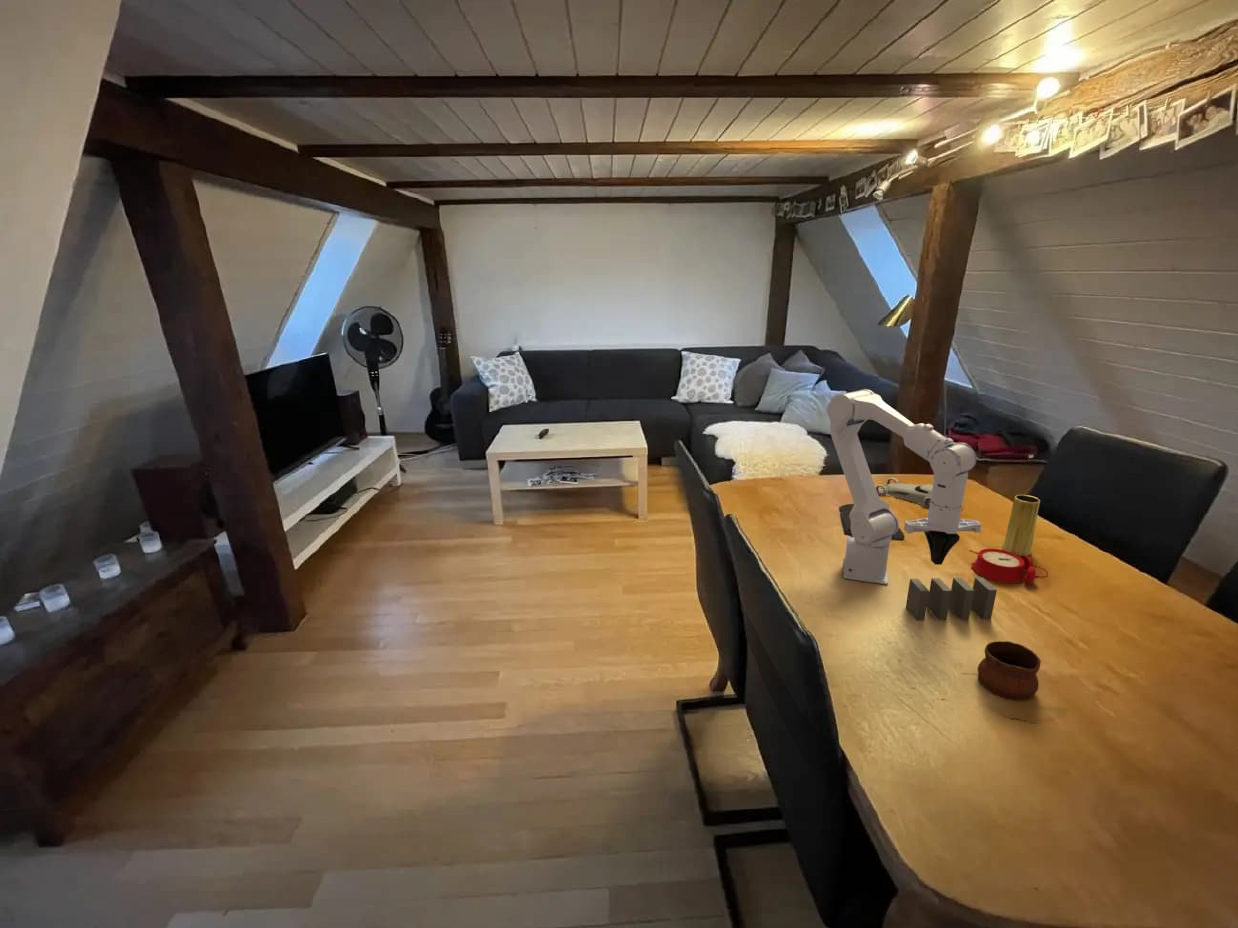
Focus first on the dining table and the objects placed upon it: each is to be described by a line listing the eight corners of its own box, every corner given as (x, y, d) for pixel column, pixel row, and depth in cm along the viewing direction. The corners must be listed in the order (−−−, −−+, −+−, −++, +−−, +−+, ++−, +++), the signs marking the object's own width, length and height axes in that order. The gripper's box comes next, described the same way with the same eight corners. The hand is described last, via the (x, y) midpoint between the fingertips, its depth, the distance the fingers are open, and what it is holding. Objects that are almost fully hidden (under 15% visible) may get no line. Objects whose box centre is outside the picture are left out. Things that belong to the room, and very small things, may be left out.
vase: (1004, 554, 143) (1015, 501, 139) (999, 543, 149) (1010, 492, 144) (1033, 557, 141) (1045, 504, 137) (1027, 547, 147) (1038, 495, 142)
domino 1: (938, 620, 118) (943, 590, 116) (926, 606, 123) (931, 578, 121) (946, 620, 118) (951, 590, 116) (934, 606, 123) (939, 577, 121)
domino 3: (982, 619, 118) (988, 590, 116) (969, 606, 123) (974, 577, 120) (990, 619, 118) (997, 589, 116) (976, 606, 123) (982, 577, 120)
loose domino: (916, 620, 118) (921, 591, 116) (905, 607, 123) (910, 578, 121) (924, 620, 118) (929, 591, 116) (913, 607, 123) (917, 578, 121)
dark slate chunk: (890, 511, 171) (892, 496, 170) (906, 544, 151) (908, 527, 150) (836, 507, 175) (837, 493, 174) (844, 539, 155) (846, 523, 153)
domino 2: (960, 620, 118) (966, 590, 116) (948, 606, 123) (953, 577, 120) (968, 619, 118) (974, 590, 116) (955, 606, 123) (960, 577, 120)
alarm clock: (967, 544, 141) (1042, 543, 134) (970, 567, 143) (1044, 567, 135) (970, 563, 133) (1050, 563, 125) (973, 588, 134) (1052, 589, 127)
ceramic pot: (1077, 739, 88) (1086, 701, 86) (945, 702, 97) (951, 667, 95) (1061, 672, 103) (1068, 638, 101) (948, 645, 111) (953, 613, 109)
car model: (886, 485, 191) (887, 470, 190) (966, 504, 174) (969, 488, 173) (871, 494, 184) (872, 479, 183) (953, 515, 167) (956, 499, 166)
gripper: (918, 511, 113) (909, 572, 117) (994, 510, 112) (982, 571, 116) (903, 497, 119) (895, 555, 124) (974, 496, 119) (963, 555, 123)
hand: (936, 562), depth 121 cm, fingers closed
